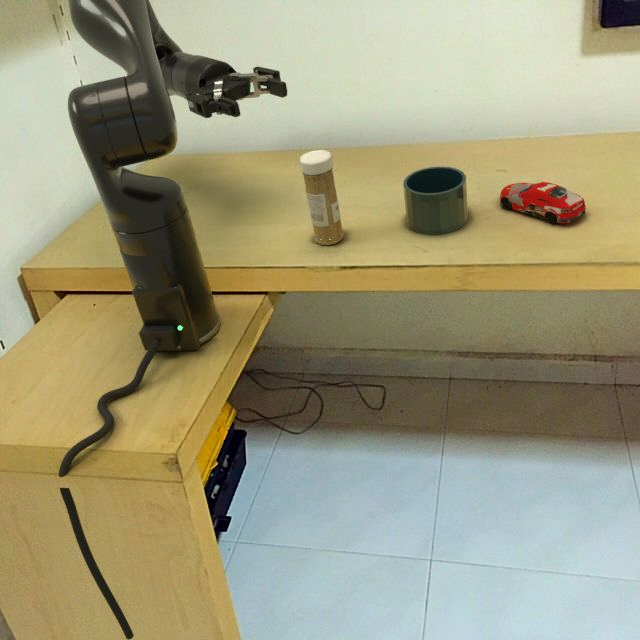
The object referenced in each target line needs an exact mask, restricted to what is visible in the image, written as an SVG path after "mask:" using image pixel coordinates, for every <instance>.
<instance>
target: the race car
mask: <svg viewBox="0 0 640 640" xmlns="http://www.w3.org/2000/svg"><path fill="white" fill-rule="evenodd" d="M499 203H500V204H501V206H502V207H503V209H505V210H508V211H509V210H511V209H512V210H514V211H517V212H521V213H523V214H526V215H530V216H532V217H536V218H539V219H543V220H546V222H547V223H549V224H551V225H554V224H556V223H557V224H570V223H572V222H575V221H577V219H579V218H581V217H582V216H583V215H585V214H586V209H587V205H586V203H585V199H584V197H582V196H581V195H580V194H577V193H575V192H573V191H572V190H570V189H568V188H566V187H563V186H561V185H559V184H556V183H553V182H548V181H540V182H537V183H530V182H515V183H510V184H508V185H506V186H504V187H503V188H502V189H501V192H500V194H499Z"/></svg>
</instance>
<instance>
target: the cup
mask: <svg viewBox="0 0 640 640" xmlns="http://www.w3.org/2000/svg"><path fill="white" fill-rule="evenodd" d="M402 186H403V196H404V207H405V208H404V209H405V216H406V217H405V218H406V223H407V226H408V228H410V229H411V230H412V231H413V232H415V233H419V234H423V235H434V236H435V235H444V234H449V233H452V232H455V231H457V230H459V229H461V228H462V227H464V225H466V223H467V222H468V219H469V215H468V214H469V213H468V208H469V207H468V188H467V187H468V186H467V175H466V174H465V173H464V171H462V170H460V169H459V168H455V167H451V166H429V167H425V168H421V169H418V170H415V171H413V172H412V173H410V174H408V175H407V176H406V177H405V178H404V179H403V183H402Z"/></svg>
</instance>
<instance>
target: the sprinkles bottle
mask: <svg viewBox="0 0 640 640" xmlns="http://www.w3.org/2000/svg"><path fill="white" fill-rule="evenodd" d="M299 167H300V171H301V173H302V175H303V180H304V185H305V194H306V199H307V206H308V210H309V216H310V221H311V223H312V229H313V234H314V235H313V238H314V241H315V243H316V244H319V245H322V246H330V245H335V244H338V243H339V242H341V241H342V240H343V238H344V235H345V234H344V231H343V226H342V221H341V213H340V212H341V211H340V205H339V199H338V194H337V189H336V184H335V178H334V171H333V167H334V161H333V156H332V153H331V152H329V151H328V150H323V149H318V150H312V151H308V152H306V153H304V154H302V155H301V156H300V158H299ZM317 238H318V239H317ZM320 239H322V240H320ZM329 239H331V240H329Z"/></svg>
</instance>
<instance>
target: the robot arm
mask: <svg viewBox="0 0 640 640" xmlns="http://www.w3.org/2000/svg"><path fill="white" fill-rule="evenodd" d="M68 8H69V15H70V19H71V22H72V25H73V27H74V29H75V31H76V32H77V34H78V35H79V36H80V37H81V39H82V40H83V41H84V42H85V43H86V44H87V45H88V46H90V47H91V48H92V49H93V50H95V51H96V52H97V53H98V54H100V55H102V56H103V57H105V58H106V59H108V60H109V61H111V62H113V63H114V64H115V65H117V66H119V67H120V68H121V69H122V70H124V72H125V73H126V76H124V75H123V76H119V77H115V78H110V79H106V80H102V81H97V82H93V83H92V82H91V83H88V84H84V85H80V86H76V87H75V88H73V89H71V91H70V92H69V94H68V97H67V113H68V118H69V121H70V124H71V128H72V131H73V134H74V137H75V139H76V141H77V144H78V146H79V149H80V151H81V153H82V155H83V158H84V160H85V163H86V166H87V167H88V170H89V172H90V174H91V177H92V179H93V181H94V184H95V187H96V190H97V192H98V195H99V197H100V200H101V203H102V206H103V208H104V211H105V214H106V216H107V218H108V221H109V224H110V227H111V229H112V233H113V235H114V238H115V240H116V244H117V247H118V249H119V252H120V255H121V258H122V261H123V263H124V266H125V270H126V272H127V275H128V277H129V281H130V283H131V286H132V290H131V293H132V296H133V299H134V303H135V305H136V307H137V310H138V313H139V315H140V318H141V321H142V324H143V325H142V327H141V329H140V330H139V332H138V335H139V338H140V341H141V344H142V347H143V349H144V351H146V352H145V354H144V356H143V357H142V359H141V360H140V363H139V365H138V367H137V370H136V372H135V375H134V377H133V379H132V380H131V381H130V382H129V383H128V384H126V385H124V386H123V387H119V388H116V389H112V390H110V391H107V392H105V393H104V394H102V395H101V397H99V399H98V401H97V405H96V408H97V411H98V413H99V414H100V415H101V416H102V417H103V419H104V423H103V425H102V426H101V427H100V428H99V429H98V430H96V431H95V432H94V433H92V434H90V435H88V436H87V437H85V438H83V439H81V440H80V441H78V442H77V443H76V444H73V446H72V447H71V448H70V449H69V450H68V451H67V452H66V453H65V455H64V457H63V459H62V461H61V463H60V465H59V470H58V477H59V478H64V477H65V476H67V475H68V474H69V471H70V468H71V465H72V463H73V461H74V460H75V458H76V457H77V456H78V455H79V454H80V453H81V452H82V451H84V450H85V449H87V448H89V447H90V446H92V445H94V444H96V443H97V442H100V441H101V440H102V439H103V438H105V437H106V436H107V435H108V434H109V433H110V432H111V431H112V429H113V427H114V424H115V423H114V422H115V417H114V415H113V414H112V412H111V411H110V410H109V408H107V404H108V403H109V402H110V401H111V400H113V399H116V398H120V397H123V396H126V395H128V394H131V393H132V392H133V391H135V390H136V389H137V388H138V387H139V386H140V384H141V383H142V382H143V380H144V376H145V374H146V371H147V369H148V367H149V365H150V363H151V362H152V360H153V358H154V357H155V354H156V353H157V352H181V351H182V352H185V351H198V350H199V349H200V347H201V345H203V344H204V343H206V342H207V341H209V340H211V338H213V337H214V336H215V335H216V334H217V333H218V331H219V329H220V327H221V324H222V323H221V321H222V320H221V316H220V313H219V311H218V309H217V305H216V302H215V298H214V295H213V292H212V288H211V285H210V282H209V278H208V275H207V271H206V268H205V264H204V260H203V257H202V253H201V250H200V246H199V243H198V240H197V236H196V232H195V229H194V225H193V221H192V218H191V215H190V211H189V208H188V204H187V200H186V197H185V194H184V191H183V189H182V186H181V185H180V184H179V183H178V182H177V181H175V180H173V179H171V178H169V177H165V176H159V175H151V174H145V173H141V172H137V171H135V170H134V171H133V170H131V169H129V168H127V167H126V166H131V165H136V164H141V163H144V162H148V161H153V160H157V159H160V158H163V157H166V156H168V155H171V153H173V152H174V151H175V150H176V148H177V143H178V125H177V119H176V115H175V111H174V106H173V103H172V100H171V97H172V96H178V97H180V98H183V99H184V100H186V102H187V105H188V108H189V111H190V112H192V113H193V114H195V115H198V116H200V117H202V118H204V119H210V118H212V117H213V114H215V113H216V115H217V116H221V115H225V116H230V117H233V118H238V117H241V109H240V105H239V103H238V101H242V100H244V99H254V98H259V97H261V95H266V94H267V95H268V94H269V95H272V96H275V97H279V98H286V97H287V96H288V87H287V83H286V82H285V81H282V79H281V71H280V70H278V69H277V70H276V69H272V68H267V67H262V66H255V67H253V68H252V71H253V72H248V73H241V72H238V71H236V69H235V68H233V66H232V65H230V64H229V63H228V62H225V61H223V60H219V59H215V58H212V57H208V56H204V55H201V54H200V55H199V54H198V55H197V54H192V53H187V52H184V51H183V50H182V47H180V46H179V45H178V44H177V43H176V42H175V40H173V39H172V38H171V37H170V36H169V35H168V33H167V32H166V30H165V29H164V28H163V26H162V25H161V24H160V22H159V19H158V17H157V15H156V13H155V10H154V8H153V6H152V3H151V1H150V0H68ZM251 85H252V86H253V91H251V87H252V86H251ZM262 86H263V87H262ZM59 491H60V495H61V497H62V501H63V503H64V505H65V509H66V511H67V514H68V517H69V521H70V524H71V528H72V530H73V534H74V537H75V540H76V542H77V545H78V547H79V550H80V552H81V555H82V557H83V559H84V562H85V564H86V566H87V568H88V570H89V572H90V575H91V576H92V578H93V580H94V583H96V585H97V588H98V589H99V591H100V592H101V594H102V596H103V598H104V600H105V601H106V603H107V605H108V606H109V608H110V610H111V612H112V614H113V615H114V617H115V619H116V620H117V623H118V625H119V626H120V628H121V630H122V633H123V634H124V636H125V638H126V640H131V639H133V638H134V635H135V634H134V632H133V630H132V628H131V626H130V623H129V622H128V619H127V617H126V615H125V613H124V612H123V610H122V608H121V606H120V604H119V603H118V600H117V599H116V597H115V596H114V594H113V592H112V590H111V589H110V586H109V585H108V583H107V581H106V579H105V578H104V576H103V574H102V572H101V570H100V568H99V566H98V564H97V562H96V560H95V558H94V555H93V553H92V551H91V548H90V546H89V543H88V541H87V538H86V535H85V532H84V529H83V526H82V523H81V520H80V516H79V513H78V510H77V506H76V504H75V500H74V498H73V494H72V492H71V489H70V487H59Z"/></svg>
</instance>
